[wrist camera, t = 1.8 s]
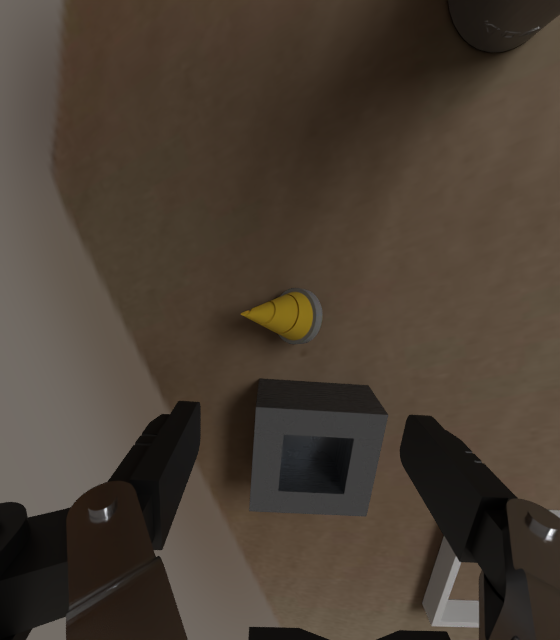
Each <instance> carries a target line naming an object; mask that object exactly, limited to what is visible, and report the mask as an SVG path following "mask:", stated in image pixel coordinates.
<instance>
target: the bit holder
mask: <svg viewBox="0 0 560 640" xmlns="http://www.w3.org/2000/svg"><path fill="white" fill-rule="evenodd" d="M387 418H388V414H387V412H386V411H385V410H384V408H383V407H382V405H381V404H380V402H379V401H378V399H377V398H376V396H375V395H374V393H373V392H372V390H371V389H370V387H369V386H368V385H352V384H337V383H321V382H305V381H290V380H274V379H259V386H258V394H257V403H256V415H255V430H254V446H253V461H252V477H251V493H250V508H249V511H258V512H280V513H303V514H325V515H348V516H367V511H368V506H369V502H370V497H371V492H372V488H373V483H374V478H375V474H376V469H377V464H378V460H379V455H380V451H381V446H382V441H383V437H384V432H385V427H386V423H387Z"/></svg>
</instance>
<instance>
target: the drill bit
mask: <svg viewBox="0 0 560 640" xmlns="http://www.w3.org/2000/svg"><path fill="white" fill-rule="evenodd" d="M241 315H243V316H244V317H246V318H248V319H250V320H252V321H254V322H256V323H258V324H260V325H262V326H264V327H266V328H268V329H269V330H271V331H273V332H275V333H277V334H278V335H279V336H280V337H281V339H282V340H284V341H285V342H287V343H289V344H303V343H307V342H309V341H311V340H312V339H313V338H314V337H315V336H316V335H317V333H318V332H319V329H320V327H321V323H322V308H321V304H320V302H319V300H318V298H317V297H316V296H315V295H314V294H313V293H312V292H310V291H309V290H305V289H300V288H291V289H288V290H286V291H285V292H284V293H282V294H281V296H280V297H278V298H276V299H274V300H271V301H269V302H266V303H264V304H262V305H259V306H257V307H254V308H252V309H251V311H249V310H247V311H245V312H243V313H241Z"/></svg>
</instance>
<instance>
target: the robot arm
mask: <svg viewBox="0 0 560 640" xmlns="http://www.w3.org/2000/svg"><path fill="white" fill-rule="evenodd" d="M448 4H449V11H450V14H451V17H452V20H453V23H454V25H455V27H456V29H457V30H458V32H459V34H460V35H461V36H462V37H463V38H464V39H465V40H466V41H467V42H468V43H469V44H470V45H472V46H473V47H475V48H477V49H479V50H482V51H486V52H503V51H507V50H511V49H514V48H516V47H517V46H519V45H521V44H523V43H525V42H526V41H527V40H529V39H530V38H531V37H532V36H534V35H535V34H536V33H537V32H539V31H540V30H541V29H542V28H544V27H545V26H546V25H547V24H549V23H550V22H551V21H552V20H554V19H555V18H556V17H557V16H559V15H560V0H448ZM199 446H200V402H190V401H178V403H177V404H176V406H175V407H174V409H173V410H172V412H171V414H162V415H160V416H158V417H157V418H156V419H154V420H153V421H151V422H150V423H149V424H148V426H147V427H146V429H145V430H144V431H143V433H142V436H140V437H139V438H138V440H137V441H136V443H135V445H133V447H132V448H131V450H130V451H129V453H128V454H127V455H126V457H125V458H124V459H123V461H122V462H121V464H120V465H119V466H118V468H117V469H116V471H115V472H114V473H113V475H112V476H111V478H110V479H109V480H108V482H106V483H103V484H100V485H98V486H96V487H93V488H92V489H90V490H88V491H87V492H86V493H84V494H83V495H82V496H81V497H79V498H78V499H77V500H76V502H74V504H73V505H72V506H71V507H70V508H67V509H63V510H59V511H55V512H51V513H46V514H42V515H37V516H33V517H29V518H28V517H27V512H26V509H25V507H24V506H23V505H21V504H19V503H16V502H6V503H0V640H26V638H27V637H28V635H29V633H30V632H31V630H32V628H35V627H37V626H40V625H43V624H46V623H49V622H52V621H55V620H57V619H60V618H63V617H66V640H187V636H186V633H185V630H184V626H183V623H182V620H181V617H180V614H179V611H178V608H177V605H176V602H175V598H174V595H173V592H172V589H171V586H170V583H169V580H168V577H167V573H166V571H165V567H164V564H163V562H162V560H161V558H160V557H159V556H158V557H156V556H155V553H154V550H162V549H163V546H164V544H165V541H166V538H167V536H168V533H169V530H170V528H171V525H172V522H173V519H174V516H175V514H176V511H177V509H178V506H179V503H180V501H181V498H182V495H183V492H184V490H185V487H186V484H187V482H188V479H189V476H190V474H191V471H192V468H193V465H194V463H195V460H196V457H197V454H198V451H199ZM400 458H401V462H402V465H403V467H404V469H405V470H406V472H407V474H408V475H409V477H410V479H411V480H412V482H413V484H414V486H415V487H416V489H417V491H418V492H419V494H420V496H421V497H422V499H423V501H424V502H425V504H426V506H427V508H428V509H429V511H430V513H431V514H432V516H433V518H434V519H435V521H436V523H437V525H438V526H439V528H440V530H441V531H442V533H443V535H444V536H445V538H446V540H447V541H448V543H449V545H450V547H451V548H452V550H453V552H454V553H455V555H456V557H457V558H458V560H459V562H474V563H478V564H479V566H480V567H481V569H482V571H481V573H480V576H479V640H560V518H559V517H558V516H556V515H555V514H554V513H552V512H551V511H549V510H547V509H546V508H544V507H542V506H540V505H538V504H536V503H533V502H531V501H527V500H524V499H518V498H517V497H516V496H515V495H514V494H513V493H512V492H511V491H510V490H509V489H508V488H507V487H506V486H505V485H504V484H503V483H502V482H501V481H500V480H499V479H498V478H497V477H496V475H495V474H494V473H493V472H492V471H491V470H490V469H489V468H488V467H487V466H486V465H485V464H483V463H482V462H481V460H480V459H479V458H478V457H477V456H476V455H475V454H473V453H472V451H471V450H470V449H469V448H468V447H467V446H466V445H465V444H464V443H463V442H462V441H461V440H460V439H459V438H457V437H456V436H454V435H453V434H451V433H450V432H448V431H447V430H445V429H444V428H443V427H442V426H441V425H440V424H439V423H438V422H437V421H436V420H435V419H434V418H433V417H432V416H425V415H409V416H408V418H407V420H406V425H405V429H404V433H403V438H402V442H401V446H400ZM249 640H329V639H326V638H324V637H321V636H318V635H316V634H313V633H311V632H308V631H305V630H303V629H300V628H275V627H249ZM377 640H450V637H449V635H448V633H447V632H446V631H404V630H399V631H397V632H394V633H392V634H389V635H387V636H384V637H382V638H379V639H377Z"/></svg>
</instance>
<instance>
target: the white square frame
mask: <svg viewBox="0 0 560 640" xmlns="http://www.w3.org/2000/svg"><path fill="white" fill-rule="evenodd" d="M549 511H551V512H552V513H554V514H555V515H556V516H558V517H559V518H560V510H549ZM460 564H461V562H459V560H458V558H457V557H456V555H455V553H454V552H453V550H452V548H451V547H450V545H449V543H448V541H447V540H446V538H445V536H444V537H443V540H442V543H441V547H440V550H439V553H438V556H437V559H436V562H435V565H434V568H433V571H432V574H431V577H430V580H429V584H428V587H427V590H426V593H425V596H424V599H423V602H422V604H423V607H424V609H425V612H426V614H427V617H428V619H429V621H430V624H431V626H447V627H479V601H474V600H448V598H449V595H450V592H451V589H452V587H453V584H454V581H455V578H456V575H457V573H458V570H459V567H460Z"/></svg>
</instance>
